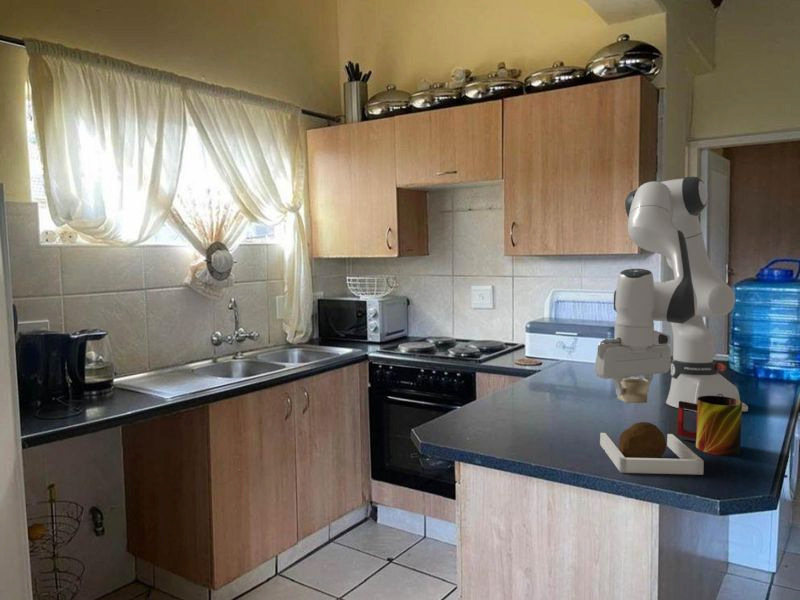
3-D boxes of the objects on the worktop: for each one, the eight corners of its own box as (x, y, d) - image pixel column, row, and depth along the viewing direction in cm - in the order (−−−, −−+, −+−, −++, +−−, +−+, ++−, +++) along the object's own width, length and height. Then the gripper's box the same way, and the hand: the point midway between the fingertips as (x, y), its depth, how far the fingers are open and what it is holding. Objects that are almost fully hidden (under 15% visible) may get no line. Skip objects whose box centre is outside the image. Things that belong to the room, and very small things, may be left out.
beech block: (636, 397, 151) (637, 377, 150) (647, 402, 146) (647, 381, 146) (617, 398, 150) (617, 378, 150) (627, 403, 145) (627, 382, 145)
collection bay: (672, 445, 152) (672, 434, 151) (703, 474, 133) (703, 461, 132) (600, 444, 153) (600, 432, 153) (620, 472, 134) (620, 459, 134)
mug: (677, 438, 158) (678, 392, 157) (738, 445, 152) (740, 397, 151) (677, 450, 149) (678, 401, 148) (742, 457, 143) (744, 407, 142)
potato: (606, 455, 145) (606, 419, 145) (651, 451, 148) (652, 416, 147) (625, 467, 137) (626, 429, 136) (673, 463, 139) (674, 426, 139)
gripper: (607, 341, 140) (606, 400, 141) (676, 336, 148) (674, 392, 149) (589, 337, 146) (588, 394, 147) (656, 333, 153) (654, 387, 155)
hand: (632, 393), depth 148 cm, fingers closed on beech block, 6 cm apart
